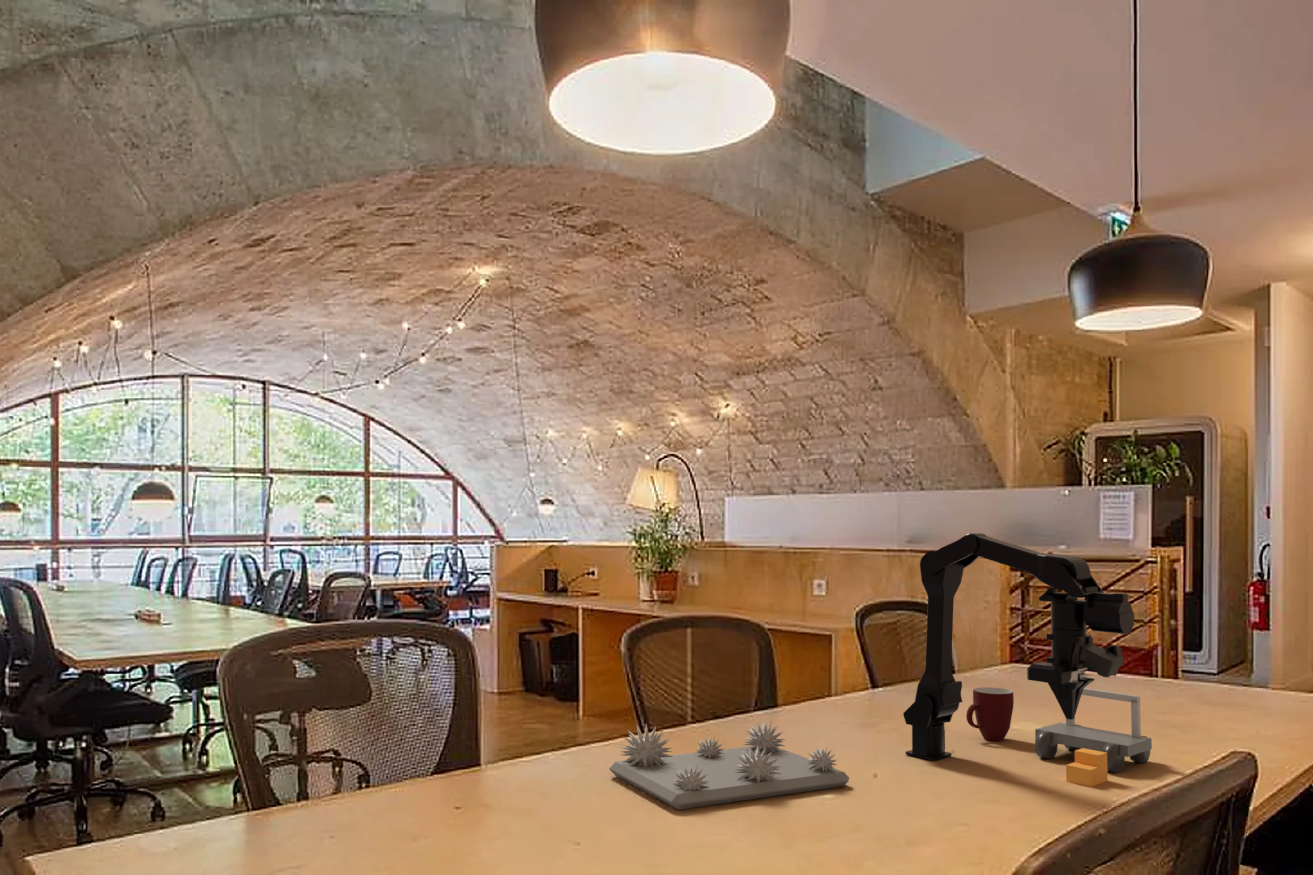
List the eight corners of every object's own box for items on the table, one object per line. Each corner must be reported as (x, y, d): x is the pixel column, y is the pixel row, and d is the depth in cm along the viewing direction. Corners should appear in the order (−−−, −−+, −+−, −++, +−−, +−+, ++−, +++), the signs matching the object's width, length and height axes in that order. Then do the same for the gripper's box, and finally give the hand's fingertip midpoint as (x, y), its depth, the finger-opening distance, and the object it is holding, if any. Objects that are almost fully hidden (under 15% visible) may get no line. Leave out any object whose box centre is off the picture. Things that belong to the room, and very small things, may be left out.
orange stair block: (1090, 787, 178) (1090, 758, 178) (1066, 782, 181) (1065, 753, 182) (1107, 781, 182) (1107, 752, 183) (1083, 776, 186) (1082, 748, 186)
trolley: (1120, 776, 185) (1119, 705, 186) (1027, 757, 198) (1026, 691, 199) (1158, 762, 195) (1157, 695, 196) (1068, 745, 209) (1067, 682, 210)
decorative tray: (675, 817, 159) (675, 752, 160) (604, 777, 182) (605, 720, 183) (853, 790, 176) (853, 731, 176) (768, 757, 198) (768, 704, 199)
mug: (985, 746, 207) (985, 696, 208) (956, 738, 214) (955, 689, 215) (1022, 741, 212) (1021, 692, 213) (992, 733, 219) (992, 686, 220)
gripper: (1088, 637, 168) (1090, 734, 166) (1138, 629, 180) (1140, 719, 179) (1025, 630, 176) (1026, 723, 175) (1077, 623, 188) (1078, 709, 187)
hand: (1070, 719), depth 179 cm, fingers closed
